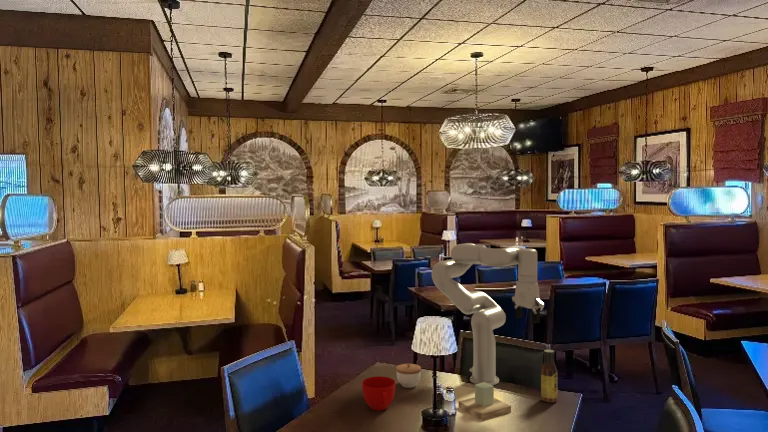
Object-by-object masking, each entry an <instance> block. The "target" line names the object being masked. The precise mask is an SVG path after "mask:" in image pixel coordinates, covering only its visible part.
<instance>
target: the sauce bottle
mask: <svg viewBox="0 0 768 432" xmlns="http://www.w3.org/2000/svg"><path fill="white" fill-rule="evenodd" d="M543 355H544V356H543V359H544V360H543V364H542V365H541V367H540V368H541V369H540V371H541V374H540V396H541V400H542V401H543V402H545V403H556V402H558V369H557V366H556V364H555V351H554V350H553V349H544V350H543Z"/></svg>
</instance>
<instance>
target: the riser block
mask: <svg viewBox="0 0 768 432" xmlns="http://www.w3.org/2000/svg"><path fill="white" fill-rule="evenodd" d="M458 408H459V409H461V410H462V411H464V412H466V413H468V414H470V415H471V416H473V417H475V418H477V419H479V420H480V421H485V420H488V419H492V418H495V417H500V416H502V415H506V414H510V413H512V406H511V405H510V404H508V403H506V402H504V401H502V400H499V399H498V398H495V397H494V404H492V405H488V406H485V407H483V406H481V405H479V404H477V403H475V396H473V397H470V398H467V399H462V400H458Z"/></svg>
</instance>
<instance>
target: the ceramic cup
mask: <svg viewBox="0 0 768 432" xmlns="http://www.w3.org/2000/svg"><path fill="white" fill-rule="evenodd" d="M361 389H362V394H363V395H362V396H363V398H364V401H365V403H366V404H367V405H368V407H369V408H370V409H371V410H373V411H385V410H387V409H388V407H389V406H390V405H391V404H392V402H393V399H394V398H395V392H396V380H395V379H394V378H391V377H389V376H370V377H367V378H365V379H363V380H362V382H361Z"/></svg>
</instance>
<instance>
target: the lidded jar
mask: <svg viewBox="0 0 768 432" xmlns="http://www.w3.org/2000/svg"><path fill="white" fill-rule="evenodd" d="M395 368H396V369H395V370H396V379H397V381H398V383H399V384H400V385H401V386H402V388H407V389H410V388H415V387H417V385H418V383H419V382H420V380H421V376H422V366H420V365H419V364H416V363H415V364H414V363H401V364H398V365H397V366H396V367H395Z"/></svg>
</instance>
